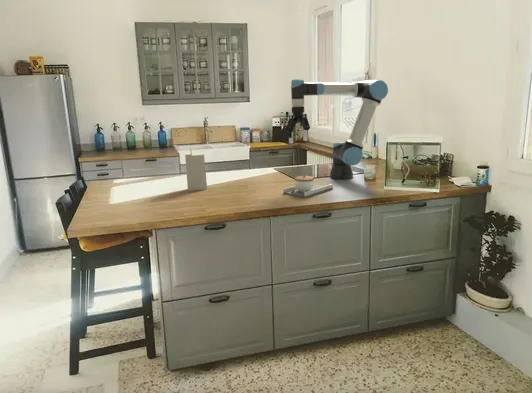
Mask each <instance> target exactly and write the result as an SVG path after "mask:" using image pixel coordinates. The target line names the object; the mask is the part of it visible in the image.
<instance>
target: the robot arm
mask: <svg viewBox="0 0 532 393" xmlns="http://www.w3.org/2000/svg"><path fill="white" fill-rule="evenodd" d="M290 84H291V85H290V89H291V90H290V91H291V92H290V93H291V94H290V95H291V106H292V107H291V113H292V114H289V115H288V121H287V125H286V129H285V131H286V132H287V133H288V143H289V144H294V129H295V127H296V125H297V124H298V123H300V125H301V127H302V128H303V130H302V133H303V134H302V135H303V136H302V138H303V142H308V134H309V132H308V131H309V130H310V129H311V126H310V123H309V120H308V119H309V118H308V116H307V113H305V96H350V97H351V96H352V98H361V101H362V104H361V107H360V110H359V112H358V114H357V116H356V117H357V118H356V120H355V122H354V124H353V128H352V130H351V132H350V136H349V138H347V140H345V141H344V142H334V143H333V144H332V167H331V170H330V173H329V178H332V179H335V180H347V179H352V178H354V172H353V169H352V166H357V165H358V164H360V162H361V161H362V159H363V156H364V154H363V149H364V145H363V143H364V139H365V137H366V134H367V132H368V129H369V127H370V124H371V122H372V119H373V116H374V114H375V111H376V109H377V107H379V106H380V105H381V104H382V103H381V102H382V100H383V99H385V98H386V97H387V95H388V92H389V87H388V84H387V83H386V82H385V81H384V80H383V79H382V80H381V79H377V78H376V79H367V80H361V81H353V82H352V83H350V82H344V83H343V82H321V81H314V82H312V81H311V82H305V80H304V79H303V78H302V79H301V78H300V79H299V78H298V79H296V78H295V79H292V80H291V82H290Z"/></svg>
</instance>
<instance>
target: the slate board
mask: <svg viewBox="0 0 532 393" xmlns="http://www.w3.org/2000/svg"><path fill="white" fill-rule="evenodd" d="M333 186H334V184H333V183H330V184H327V185H320V184H319V185H318V184H314V183H313V187H312V189H311V190H310V191H307V192H306V189H303V192H299V190H298V189H297V188H296V185H292V186H288V187H284V188H283V189H282V191H283V195H288V196H293V197H298V198H304V199H306V198H309V197H312V196H315V195H319V194H322V193H325V192H327V191H331V190H333V189H334V188H333Z"/></svg>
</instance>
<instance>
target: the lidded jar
mask: <svg viewBox="0 0 532 393" xmlns="http://www.w3.org/2000/svg"><path fill="white" fill-rule="evenodd" d="M314 178H315V177H313V176H310V175H305V174H302V175H297V176H295V177H294V184H295V185H296V188H297V189H298V190H299V192H303V189H306V192H307V191H310V190H311V189H312V187H313V184H314ZM295 185H294V186H295Z"/></svg>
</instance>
